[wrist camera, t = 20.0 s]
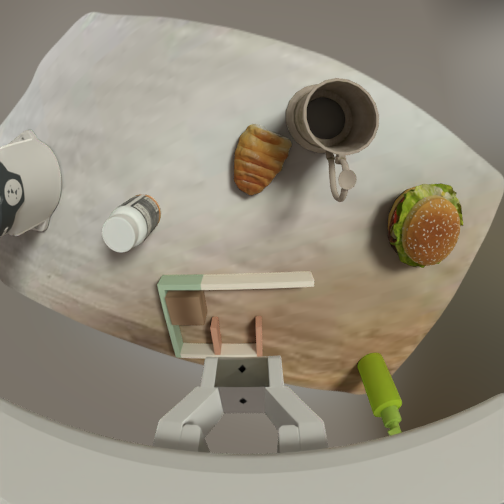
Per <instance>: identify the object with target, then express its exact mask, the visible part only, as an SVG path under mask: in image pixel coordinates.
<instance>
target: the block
mask: <svg viewBox="0 0 504 504" xmlns="http://www.w3.org/2000/svg"><path fill="white" fill-rule="evenodd" d="M165 300H166V304H167V308H168V312H169V316H170V319H171V323H172V325H204V324H205V319H206V315H207V306H206V300H205V295H204V290H168V292H167V294H166V296H165Z"/></svg>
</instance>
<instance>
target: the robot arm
mask: <svg viewBox="0 0 504 504" xmlns="http://www.w3.org/2000/svg"><path fill="white" fill-rule="evenodd" d="M60 194H61V172H60V168H59V164H58V161H57V159H56V157H55V155H54V153H53V152H52V150H51V149H50V148H49V147H48V146H47V145H46V144H44V143H43V142H41V141H39V140H38V139H37V137H36V136H35V134H34V133H33V131H32V130H26V131H24V132H23V133H22V134H20V135H19V136H18V137H16V138H15V139H14V140H13V141H12V142H10V143H9V144H8V145H5V146H2V147H0V238H1V237H2V236H3V235H7V234H10V236H14V235H15V236H19V235H21V234H22V233H24V232H26V231H28V230H36V231H44V230H46V229H47V227H48V223H49V218H50V216H51V214H52V213H53V211H54V210H55V208H56V206H57V204H58V202H59V199H60ZM224 413H265V414H266V415H267V417H268V418H269V419H270V421H271V422H272V423H273V425H274V426H275V427H276V429H277V430H278V431H279V433H278V445H277V453H266V454H228V453H226V454H225V453H210V450H209V448H208V445H207V443H206V440H205V437H206V436H207V435H208V433H209V432H210V431H211V430H212V428H213V427H214V426H215V425H216V424H217V422H218V421H219V420H220V418H221V417H222V416H223V415H224ZM0 504H504V393H502V394H499V395H496V396H494V397H492V398H490V399H489V400H486V401H484V402H482V403H480V404H478V405H476V406H473V407H471V408H469V409H467V410H464V411H462V412H460V413H457V414H455V415H452V416H450V417H447V418H444V419H442V420H439V421H436V422H433V423H431V424H428V425H425V426H422V427H419V428H416V429H412V430H409V431H405V432H402V433H398V434H395V435H391V436H387V437H383V438H379V439H375V440H370V441H366V442H361V443H356V444H350V445H345V446H339V447H332V448H328V443H327V437H326V432H325V426H324V422H323V420H322V419H321V418H320V417H319V416H318V415H316V414H315V413H314V412H313V411H312V410H311V409H310V408H309V407H308V406H307V405H306V404H305V403H304V402H303V401H302V400H301V399H300V398H299V397H298V396H297V395H296V394H295V393H294V392H293V391H292V390H291V389H290V388H289V387H288V386H284V382H283V372H282V362H281V357H280V356H268V357H267V356H262V357H206V358H205V362H204V367H203V373H202V378H201V384H200V387H196V388H195V389H193V390H192V392H190V393H189V394H188V395H187V396H186V397H185V398H184V399H183V400H182V401H180V402H179V403H178V404H177V405H176V406H175V407H174V408H173V409H172V410H170V411H169V412H168V413H167V414H166V415H165V416H164V417H162V418H161V419H160V420H159V423H158V427H157V431H156V435H155V439H154V443H153V446H148V445H143V444H138V443H132V442H128V441H123V440H118V439H114V438H110V437H106V436H102V435H99V434H95V433H91V432H88V431H85V430H81V429H78V428H75V427H72V426H69V425H66V424H63V423H60V422H57V421H55V420H52V419H49V418H47V417H44V416H42V415H39V414H37V413H35V412H32V411H30V410H28V409H25V408H23V407H21V406H19V405H17V404H14V403H12V402H10V401H8V400H6V399H4V398H0Z"/></svg>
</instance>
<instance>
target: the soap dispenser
mask: <svg viewBox="0 0 504 504" xmlns="http://www.w3.org/2000/svg"><path fill="white" fill-rule="evenodd" d="M357 367H358V370H359V373H360V376H361V378H362V381H363V384H364V387H365V390H366V393H367V396H368V399H369V402H370V405H371V408H372V411H373V414H374V416H375V417H382V420H383V423H384V426H385V427H386V428H390V430H388V433H389V435H390V436H391V435H395V434H398V433H402V432H401V430H400V427H399V422H400V421H401V417H400V414H399V411H398V409H399V408H400V406H401V405H402V401H401V398H400V396H399V394H398V391H397V389H396V387H395V384H394V382H393V380H392V377H391V375H390V373H389V371H388V368H387V366H386V364H385V362H384V359H383V357H382V355H381V354H379V353H371V354H368V355H366V356H364V357H363V358H362V359H361V360H360V361H359V362H358V365H357Z"/></svg>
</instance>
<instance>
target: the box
mask: <svg viewBox="0 0 504 504" xmlns="http://www.w3.org/2000/svg"><path fill="white" fill-rule="evenodd" d="M157 287H158V291H159V295H160V299H161V303H162V307H163V311H164V315H165V319H166V323H167V327H168V330H169V334H170V338H171V341H172V345H173V348H174V352H175V355H176V357H179V358H206V357H262V317H261V316H256V343H250V344H222V341H221V334H220V327H219V320H218V317H212V322H211V327H210V329H211V335H212V341H213V344H197V343H183V340H182V336H181V332H180V328H179V325H172V323H171V319H170V316H169V312H168V308H167V304H166V300H165V296H166V294H167V292H168V290H234V289H268V288H294V287H314V279H313V276H312V273H311V271H305V272H279V273H248V274H210V275H162V277H161V279H160V280H159V282H158V284H157Z"/></svg>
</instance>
